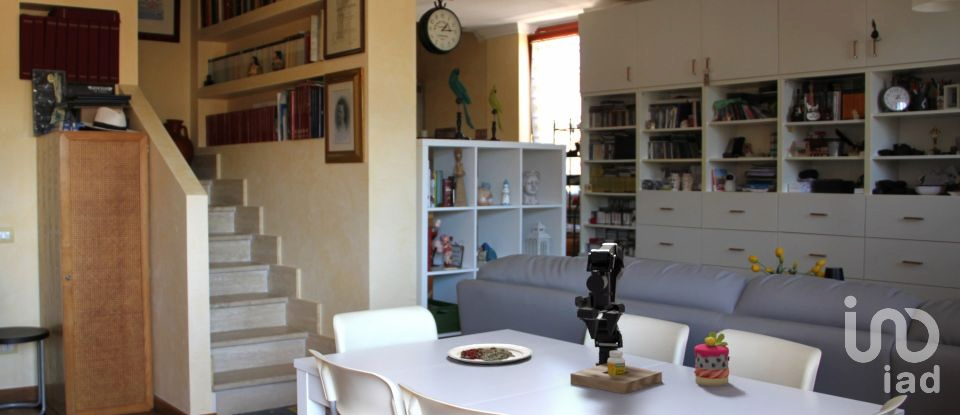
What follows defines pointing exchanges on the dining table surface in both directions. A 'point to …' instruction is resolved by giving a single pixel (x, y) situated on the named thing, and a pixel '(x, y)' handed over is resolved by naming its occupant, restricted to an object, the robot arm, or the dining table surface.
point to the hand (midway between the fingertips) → (601, 337)
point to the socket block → (616, 378)
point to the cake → (712, 361)
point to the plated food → (489, 353)
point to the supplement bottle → (616, 363)
